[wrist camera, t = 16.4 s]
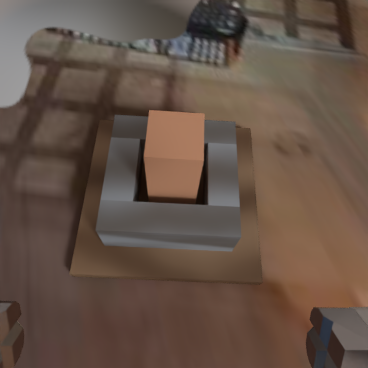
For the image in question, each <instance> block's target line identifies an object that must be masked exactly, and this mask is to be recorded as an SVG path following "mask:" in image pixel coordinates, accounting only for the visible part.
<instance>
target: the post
mask: <svg viewBox="0 0 368 368" xmlns="http://www.w3.org/2000/svg"><path fill="white" fill-rule="evenodd" d="M203 162H204V114H201V113H186V112H170V111H155V110H149V117H148V125H147V134H146V142H145V151H144V163H145V172H146V181H147V189H148V198H149V202H154V203H174V204H194V205H195V202H196V197H197V192H198V187H199V182H200V177H201V172H202V167H203Z"/></svg>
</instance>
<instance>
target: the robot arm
mask: <svg viewBox="0 0 368 368" xmlns="http://www.w3.org/2000/svg"><path fill="white" fill-rule="evenodd" d="M20 316H21V309H20V304H19V303H18V302H16V301H0V368H12V367H14V366H15V364H16V362H17V361H18V359H19V357H20V354H21V351H22V348H23V345H24V329H23V327H22V326H21V325H20V324H19V323H18V322H17V320H18V319H19V317H20ZM310 321H311V323H312V325H313V326H314V327H313V328H312V329H311V330H310V331H309V332H308V333H307V339H306V349H307V356H308V359H309V362H310V364H311V367H312V368H368V307H349V308H326V307H314V308H313V309H312V311H311V315H310Z"/></svg>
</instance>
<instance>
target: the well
mask: <svg viewBox="0 0 368 368" xmlns="http://www.w3.org/2000/svg"><path fill="white" fill-rule="evenodd" d="M147 125H148V117H144V116H126V115H115V118H114V120H100V121H99V126H98V131H97V136H96V141H95V146H94V151H93V157H92V162H91V167H90V172H89V177H88V182H87V187H86V192H85V197H84V202H83V208H82V213H81V218H80V223H79V228H78V233H77V238H76V243H75V248H74V253H73V258H72V264H71V269H70V275H71V276H74V277H98V278H121V279H144V280H167V281H190V282H213V283H236V284H261V283H262V269H261V256H260V244H259V231H258V219H257V206H256V194H255V181H254V168H253V156H252V143H251V131H250V128H236V126H235V122H229V121H212V120H204V162H203V167H202V172H201V177H200V182H199V187H198V192H197V197H196V202H195V205H194V204H174V203H154V202H149V198H148V189H147V181H146V172H145V163H144V151H145V142H146V134H147Z"/></svg>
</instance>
